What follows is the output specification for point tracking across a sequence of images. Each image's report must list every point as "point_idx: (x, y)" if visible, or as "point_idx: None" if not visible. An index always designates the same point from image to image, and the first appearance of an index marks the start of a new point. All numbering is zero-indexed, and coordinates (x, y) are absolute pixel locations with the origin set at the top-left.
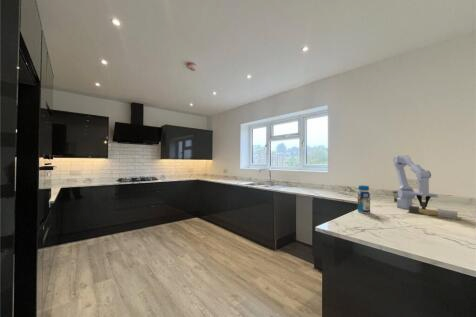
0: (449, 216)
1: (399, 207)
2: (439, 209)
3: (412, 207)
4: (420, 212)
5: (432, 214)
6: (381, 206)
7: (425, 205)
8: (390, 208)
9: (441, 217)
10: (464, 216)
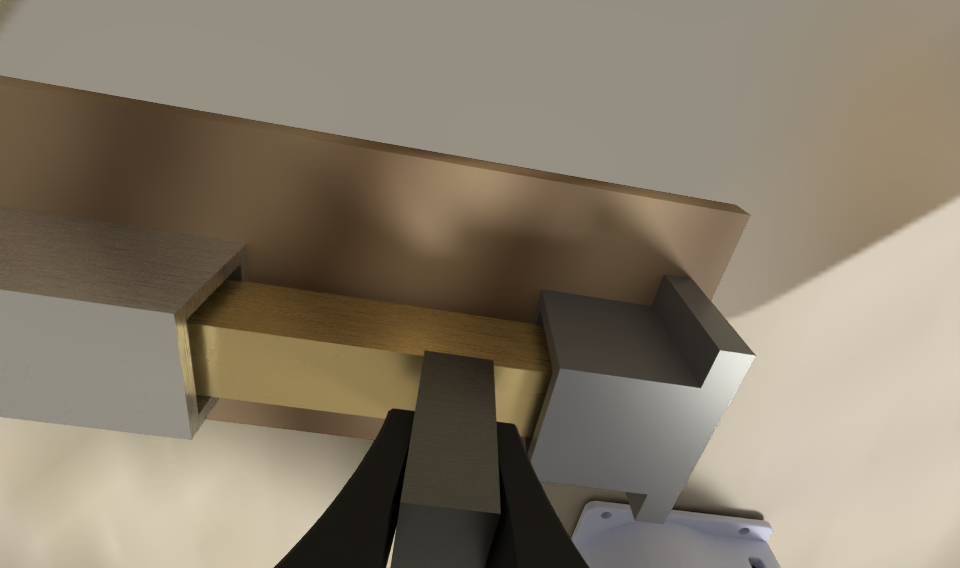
0: (44, 228)
1: (745, 552)
2: (163, 401)
3: (668, 372)
4: None
5: None
6: (942, 563)
7: (410, 431)
8: (856, 508)
9: (182, 179)
10: (30, 537)
